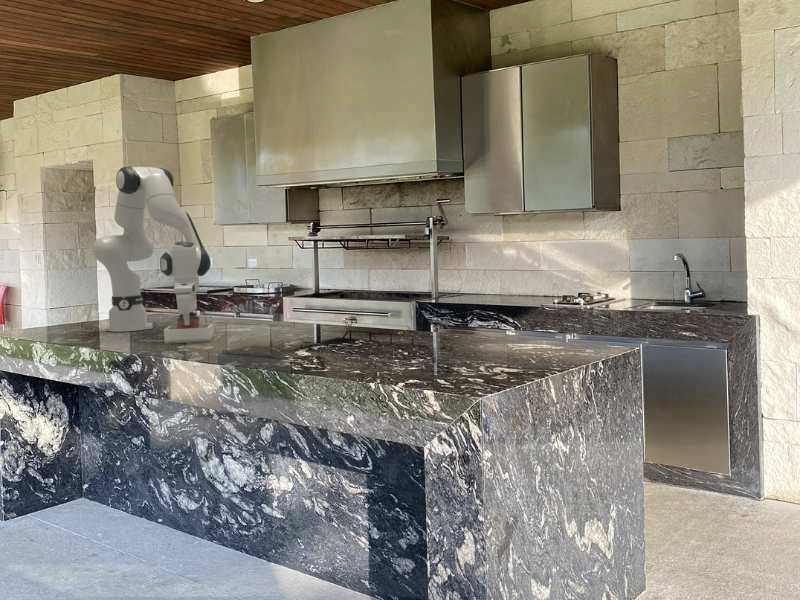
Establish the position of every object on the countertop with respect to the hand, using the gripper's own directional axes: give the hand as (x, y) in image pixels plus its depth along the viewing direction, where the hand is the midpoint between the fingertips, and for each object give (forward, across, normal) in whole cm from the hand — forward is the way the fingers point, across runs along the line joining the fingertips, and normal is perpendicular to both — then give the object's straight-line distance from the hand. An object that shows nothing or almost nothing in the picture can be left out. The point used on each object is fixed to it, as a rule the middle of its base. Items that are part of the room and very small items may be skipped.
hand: (188, 324), depth 312 cm
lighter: (+4, +4, 0) cm, 5 cm away
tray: (+6, 0, 0) cm, 6 cm away
